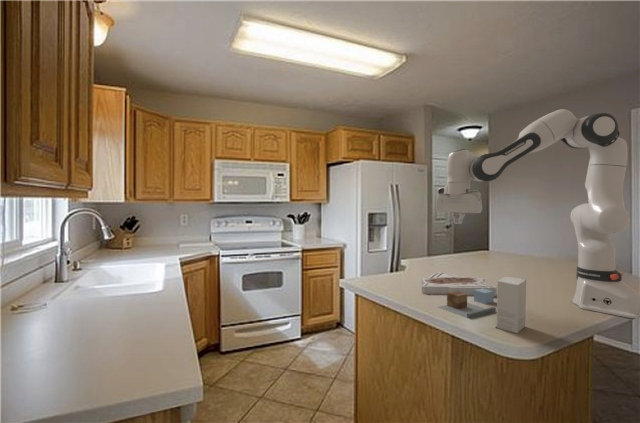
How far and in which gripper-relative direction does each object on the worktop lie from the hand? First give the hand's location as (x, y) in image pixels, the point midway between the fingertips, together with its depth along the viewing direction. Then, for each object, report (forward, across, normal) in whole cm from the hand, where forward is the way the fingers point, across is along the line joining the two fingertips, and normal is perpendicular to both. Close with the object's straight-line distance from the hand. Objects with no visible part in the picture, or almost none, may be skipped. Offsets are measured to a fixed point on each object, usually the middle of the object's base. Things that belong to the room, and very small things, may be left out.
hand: (458, 223), depth 140 cm
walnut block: (+30, -8, +10) cm, 33 cm away
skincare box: (+31, -30, +11) cm, 45 cm away
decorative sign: (+32, +14, -12) cm, 37 cm away
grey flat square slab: (+31, -12, +10) cm, 35 cm away
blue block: (+31, -9, -4) cm, 33 cm away
